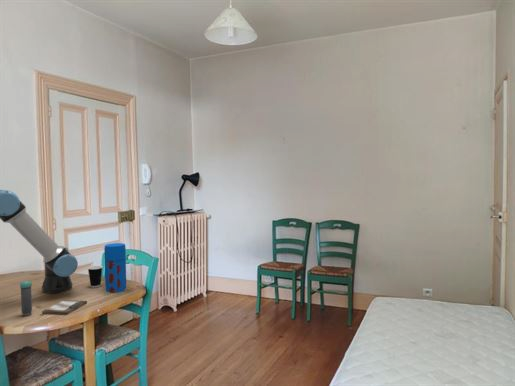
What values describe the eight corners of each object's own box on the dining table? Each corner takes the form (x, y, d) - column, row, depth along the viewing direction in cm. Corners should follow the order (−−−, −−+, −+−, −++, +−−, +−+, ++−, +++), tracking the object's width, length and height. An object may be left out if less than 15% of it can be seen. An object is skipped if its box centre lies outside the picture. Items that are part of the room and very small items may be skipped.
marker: (26, 312, 176) (24, 280, 175) (34, 313, 175) (33, 280, 175) (18, 316, 172) (17, 283, 171) (27, 316, 171) (26, 283, 170)
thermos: (112, 286, 218) (111, 242, 216) (130, 287, 215) (129, 243, 214) (101, 292, 207) (100, 246, 206) (119, 293, 205) (118, 246, 204)
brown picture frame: (64, 302, 190) (64, 297, 190) (86, 303, 189) (86, 298, 189) (42, 313, 175) (42, 309, 175) (66, 314, 173) (66, 310, 173)
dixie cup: (88, 285, 220) (87, 266, 220) (103, 283, 223) (102, 265, 223) (87, 289, 213) (87, 269, 213) (103, 287, 216) (102, 268, 216)
